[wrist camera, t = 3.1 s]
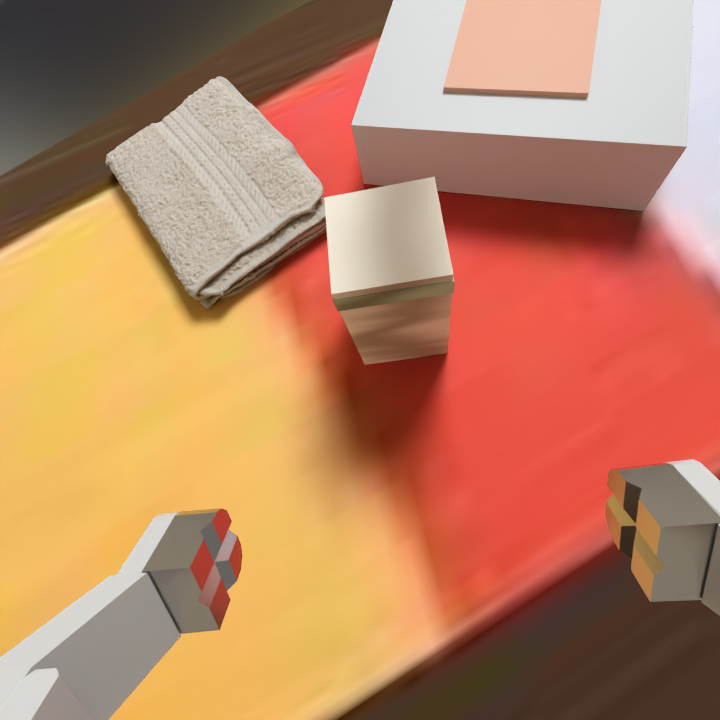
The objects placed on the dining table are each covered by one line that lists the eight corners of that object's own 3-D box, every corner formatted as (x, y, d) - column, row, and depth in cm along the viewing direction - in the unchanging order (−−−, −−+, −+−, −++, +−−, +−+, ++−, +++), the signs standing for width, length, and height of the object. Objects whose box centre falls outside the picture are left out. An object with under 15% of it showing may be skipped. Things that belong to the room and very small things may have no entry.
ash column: (363, 365, 26) (330, 295, 18) (356, 292, 28) (323, 196, 20) (448, 353, 26) (454, 275, 17) (435, 279, 27) (435, 175, 19)
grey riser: (363, 183, 31) (350, 120, 26) (407, 44, 35) (402, -33, 30) (643, 210, 27) (690, 141, 22) (655, 48, 31) (697, -41, 26)
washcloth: (213, 323, 30) (190, 303, 27) (113, 175, 36) (85, 146, 33) (351, 223, 31) (342, 192, 28) (229, 96, 37) (212, 61, 34)
